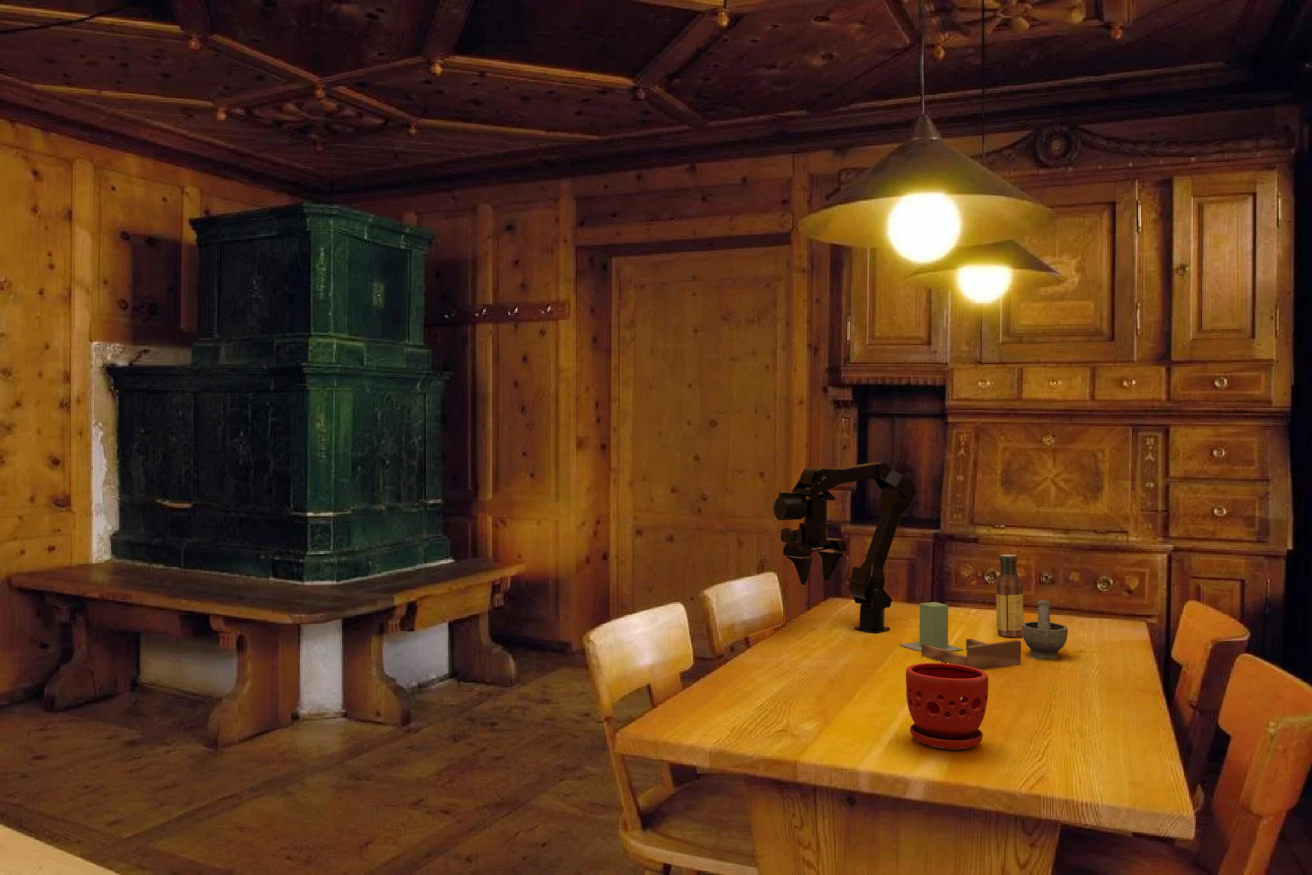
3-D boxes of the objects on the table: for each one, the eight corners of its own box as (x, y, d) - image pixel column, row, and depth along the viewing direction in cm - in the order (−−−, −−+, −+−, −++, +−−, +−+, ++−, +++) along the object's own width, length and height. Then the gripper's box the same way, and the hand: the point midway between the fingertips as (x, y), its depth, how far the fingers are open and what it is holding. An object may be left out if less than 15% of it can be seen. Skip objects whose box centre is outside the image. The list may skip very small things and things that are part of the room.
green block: (919, 646, 232) (919, 603, 232) (934, 644, 234) (934, 601, 234) (932, 650, 228) (933, 606, 228) (947, 648, 230) (948, 605, 230)
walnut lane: (921, 655, 224) (921, 633, 224) (969, 649, 230) (970, 627, 230) (970, 671, 210) (971, 647, 210) (1020, 664, 217) (1021, 641, 217)
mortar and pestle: (1068, 663, 218) (1069, 608, 217) (1022, 659, 221) (1023, 605, 220) (1064, 651, 228) (1065, 599, 228) (1021, 648, 231) (1021, 597, 231)
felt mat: (899, 645, 234) (899, 644, 234) (932, 641, 238) (932, 640, 238) (929, 654, 225) (929, 653, 225) (962, 650, 229) (962, 648, 229)
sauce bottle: (1026, 634, 246) (1027, 554, 246) (1020, 639, 241) (1021, 557, 240) (998, 631, 249) (999, 552, 249) (992, 636, 244) (993, 555, 244)
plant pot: (1003, 751, 160) (1004, 677, 160) (928, 757, 157) (928, 681, 157) (962, 726, 173) (962, 658, 172) (891, 731, 170) (892, 661, 170)
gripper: (811, 514, 256) (811, 574, 256) (765, 519, 243) (764, 582, 243) (848, 517, 248) (847, 579, 248) (802, 522, 235) (801, 588, 235)
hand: (814, 582), depth 244 cm, fingers open, 9 cm apart
